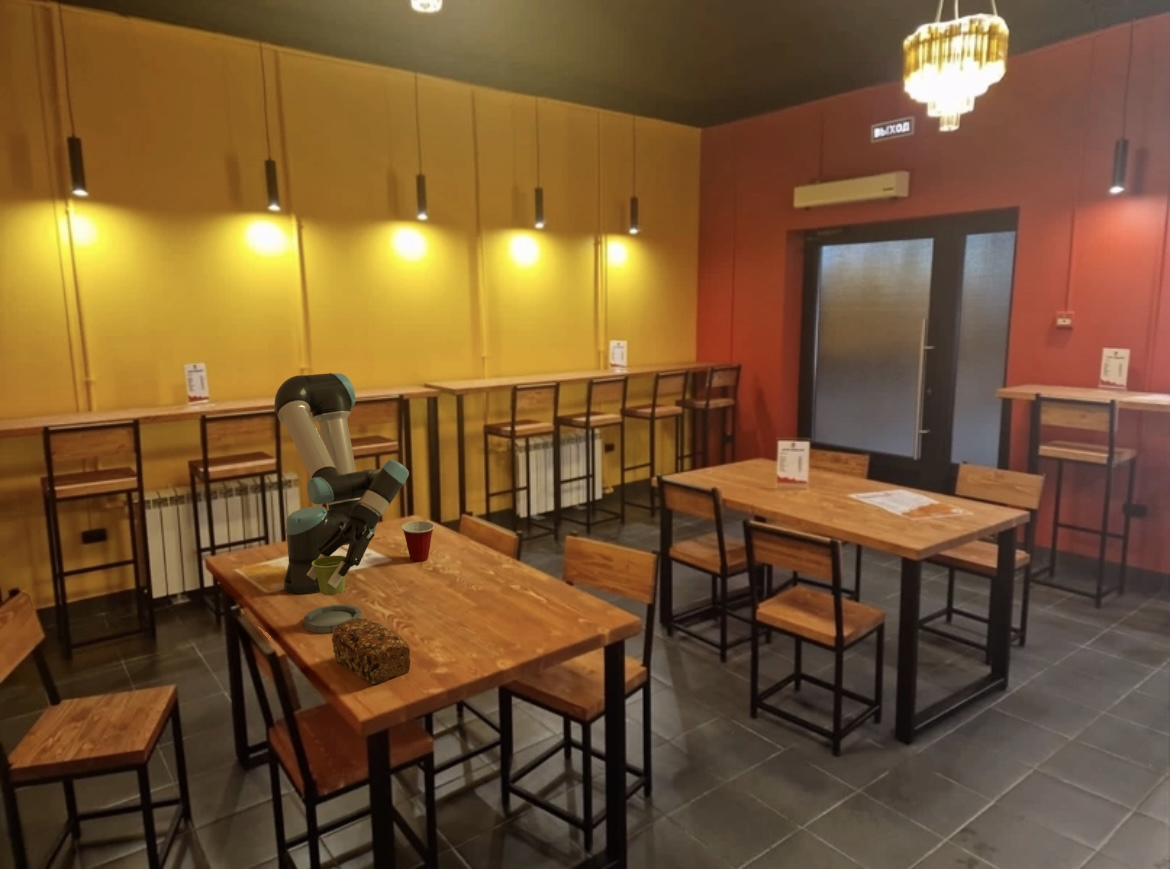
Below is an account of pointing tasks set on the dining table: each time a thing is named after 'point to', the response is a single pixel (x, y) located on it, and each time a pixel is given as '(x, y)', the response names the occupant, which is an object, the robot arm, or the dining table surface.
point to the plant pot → (328, 574)
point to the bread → (371, 650)
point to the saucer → (330, 617)
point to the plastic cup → (418, 539)
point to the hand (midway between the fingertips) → (320, 581)
